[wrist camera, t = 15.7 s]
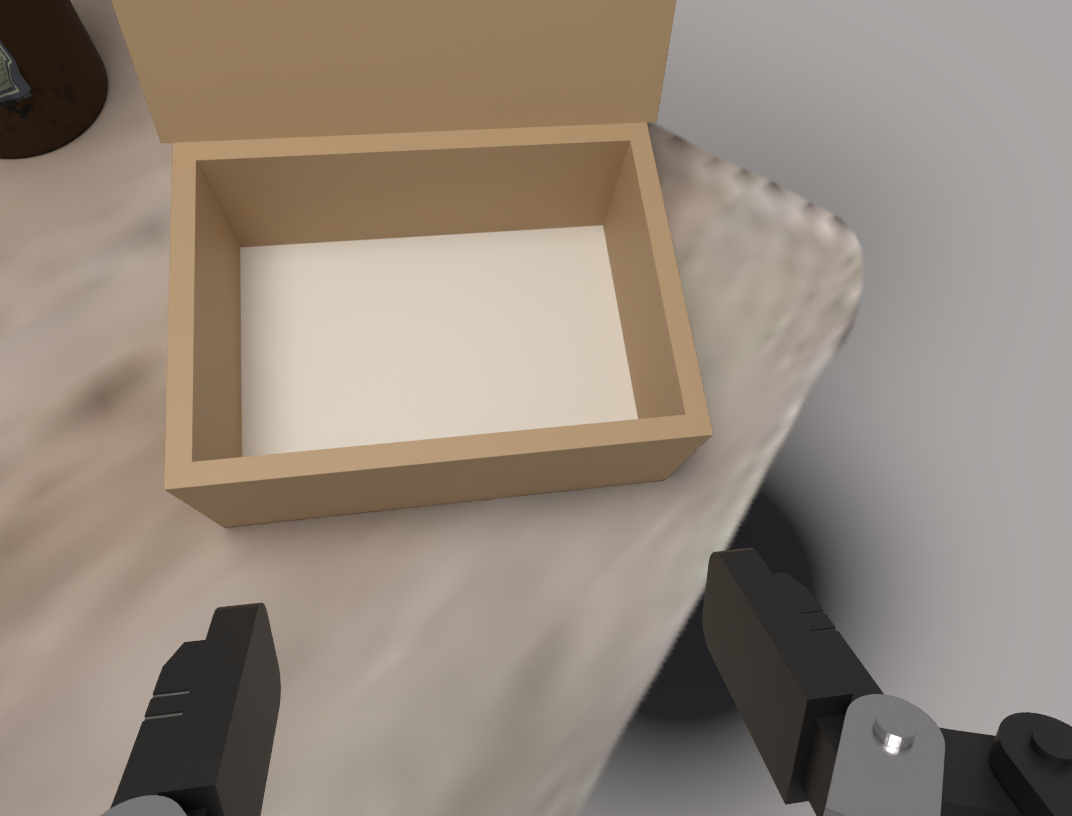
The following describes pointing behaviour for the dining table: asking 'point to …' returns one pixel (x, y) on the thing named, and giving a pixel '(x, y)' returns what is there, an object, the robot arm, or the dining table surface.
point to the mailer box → (422, 321)
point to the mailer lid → (393, 65)
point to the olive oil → (45, 76)
